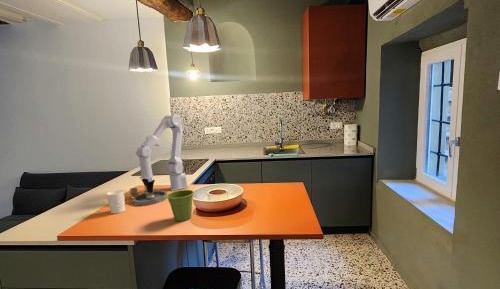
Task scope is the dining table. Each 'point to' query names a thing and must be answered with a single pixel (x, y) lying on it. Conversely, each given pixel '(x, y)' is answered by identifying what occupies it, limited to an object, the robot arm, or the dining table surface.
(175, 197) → the plant pot
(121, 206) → the white cup
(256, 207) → the dining table surface
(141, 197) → the groove dish
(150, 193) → the bead
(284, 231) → the dining table surface
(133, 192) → the bead
